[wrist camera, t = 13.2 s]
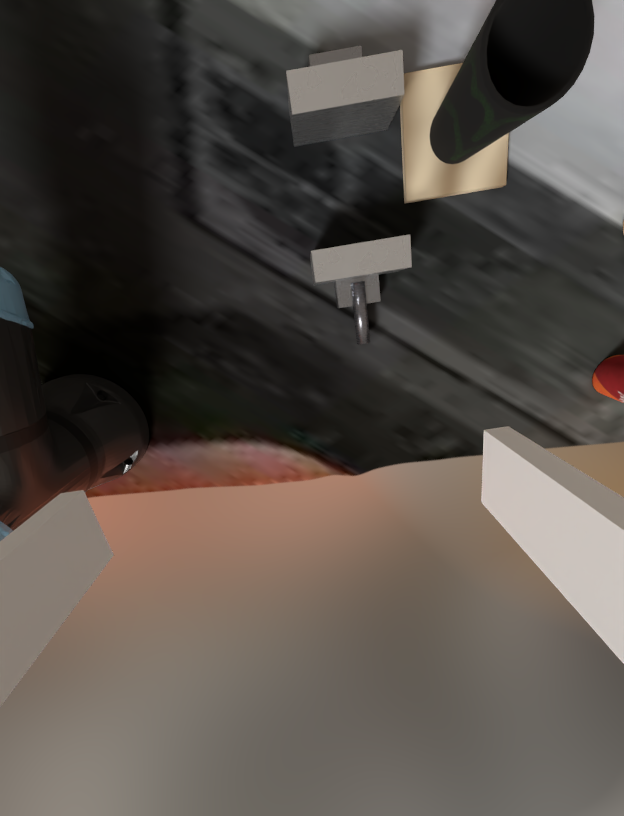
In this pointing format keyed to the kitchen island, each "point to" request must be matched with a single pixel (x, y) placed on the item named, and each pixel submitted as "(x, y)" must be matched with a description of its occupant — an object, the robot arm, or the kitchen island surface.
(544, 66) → the cup
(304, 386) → the kitchen island surface
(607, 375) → the paper cup
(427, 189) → the coaster
